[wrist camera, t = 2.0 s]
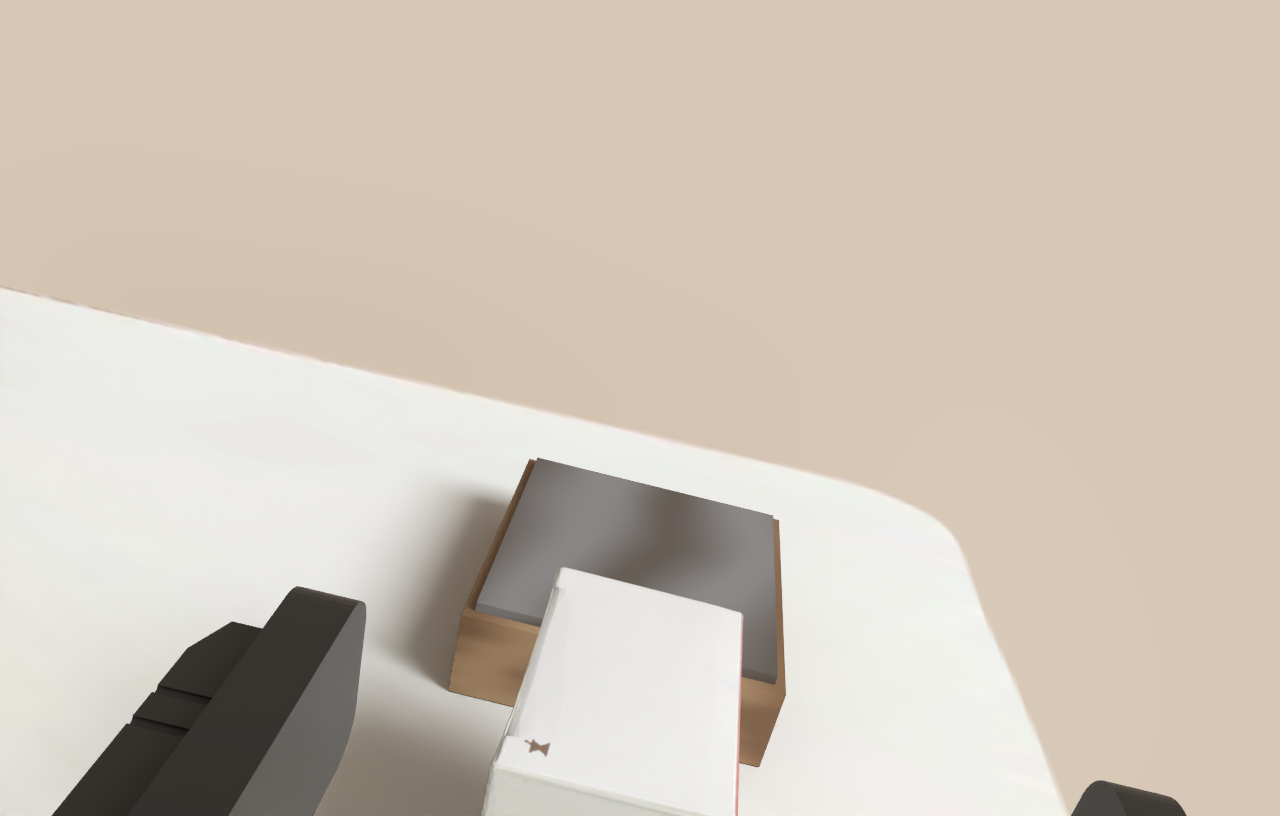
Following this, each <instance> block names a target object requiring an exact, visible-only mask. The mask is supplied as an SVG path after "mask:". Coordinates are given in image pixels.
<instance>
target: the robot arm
mask: <svg viewBox="0 0 1280 816" xmlns="http://www.w3.org/2000/svg"><path fill="white" fill-rule="evenodd" d="M365 622H366V605H365V603H364V602H362V601H358V600H354V599H350V598H345V597H341V596H337V595H333V594H329V593H325V592H320V591H316V590H312V589H308V588H304V587H299V586H297V587H295V588H293V589H292V590H291V591H290V592H289V593H288V594H287V596H286V597H285V598H284V600H283V601H282V603H281V604H280V605H279V607H278V608H277V610H276V611H275V612H274V614H273V615H272V616H271V618H270V619H269V621H268V622H267V623H266V625H265V626H264V628H263V629H261V628H257V627H253V626H249V625H245V624H241V623H236V622H231V623H229V624H227V625H226V626H224V627H222V628H220V629H219V630H217V631H215V632H214V633H212V634H210V635H209V636H207V637H205V638H204V639H202V640H200V641H199V642H197V643H195V644H194V645H192V646H190V647H189V648H187V650H186V651H185V652H184V653H183V654H182V656H181V657H180V658H179V659H178V661H177V662H176V663H175V664H174V666H173V667H172V668H171V669H170V671H169V672H168V673H167V674H166V675H165V677H164V678H163V679H162V680H161V682H160V683H159V684H158V687H157V690H156V692H155V693H154V692H152V693H151V694H150V695H149V696H148V698H147V699H146V700H145V701H144V703H143V704H142V705H141V706H140V707H139V709H138V710H137V711H136V712H135V714H134V715H133V718H132V721H131V723H130V724H126V725H125V726H124V727H123V728H122V730H121V731H120V732H119V733H118V735H117V736H116V737H115V738H114V740H113V741H112V742H111V743H110V744H109V746H108V747H107V748H106V749H105V751H104V752H103V753H102V754H101V756H100V757H99V758H98V759H97V760H96V762H95V763H94V764H93V765H92V767H91V768H90V769H89V770H88V772H87V773H86V774H85V775H84V777H83V778H82V779H81V780H80V781H79V783H78V784H77V785H76V786H75V788H74V789H73V790H72V791H71V793H70V794H69V795H68V796H67V797H66V799H65V800H64V801H63V802H62V804H61V805H60V806H59V807H58V809H57V810H56V811H55V812H54V813H53V815H52V816H313V814H314V812H315V810H316V808H317V806H318V804H319V802H320V800H321V798H322V797H323V795H324V793H325V791H326V789H327V787H328V785H329V783H330V781H331V779H332V777H333V775H334V773H335V771H336V769H337V767H338V765H339V762H340V760H341V758H342V755H343V753H344V750H345V747H346V744H347V741H348V738H349V735H350V731H351V728H352V724H353V719H354V715H355V709H356V701H357V692H358V683H359V674H360V666H361V657H362V648H363V639H364V630H365ZM1071 816H1186V814H1185V812H1184V810H1183V809H1182V807H1181V806H1180V805H1179V804H1178V802H1177V801H1176V800H1174V799H1173V798H1171V797H1168V796H1165V795H1161V794H1157V793H1152V792H1148V791H1144V790H1140V789H1136V788H1132V787H1127V786H1123V785H1119V784H1115V783H1111V782H1106V781H1096V782H1094V783H1092V784H1091V785H1090V786H1089V787H1088V788H1087V789H1086V790H1085V792H1084V793H1083V795H1082V797H1081V799H1080V801H1079V802H1078V804H1077V806H1076V808H1075V810H1074V811H1073V813H1072V815H1071Z"/></svg>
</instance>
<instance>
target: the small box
mask: <svg viewBox="0 0 1280 816" xmlns="http://www.w3.org/2000/svg"><path fill="white" fill-rule="evenodd" d="M743 618H744V615H743V614H741V613H740V612H737V611H733V610H730V609H726V608H723V607H719V606H716V605H712V604H708V603H704V602H700V601H697V600H693V599H689V598H684V597H680V596H677V595H673V594H669V593H665V592H661V591H657V590H653V589H649V588H646V587H642V586H638V585H634V584H630V583H626V582H622V581H618V580H614V579H610V578H606V577H602V576H598V575H594V574H590V573H586V572H582V571H578V570H574V569H570V568H566V567H561V568H559V569H557V571H556V573H555V578H554V582H553V586H552V590H551V594H550V598H549V601H548V605H547V608H546V611H545V615H544V618H543V621H542V624H541V627H540V630H539V633H538V636H537V639H536V642H535V645H534V648H533V651H532V654H531V657H530V661H529V664H528V666H527V669H526V672H525V675H524V678H523V681H522V684H521V687H520V690H519V693H518V696H517V699H516V702H515V705H514V708H513V711H512V713H511V716H510V718H509V721H508V723H507V726H506V728H505V731H504V733H503V736H502V738H501V741H500V743H499V746H498V748H497V751H496V753H495V756H494V758H493V760H492V762H491V766H490V771H489V777H488V782H487V788H486V793H485V798H484V803H483V808H482V813H481V816H738V785H739V745H740V708H741V673H742V638H743Z"/></svg>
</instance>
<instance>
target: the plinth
mask: <svg viewBox="0 0 1280 816" xmlns="http://www.w3.org/2000/svg"><path fill="white" fill-rule="evenodd" d="M561 567H566V568H570V569H574V570H578V571H582V572H586V573H590V574H594V575H598V576H602V577H606V578H610V579H614V580H618V581H622V582H626V583H630V584H634V585H638V586H642V587H646V588H649V589H653V590H657V591H661V592H665V593H669V594H673V595H677V596H680V597H684V598H689V599H693V600H697V601H700V602H704V603H708V604H712V605H716V606H719V607H723V608H726V609H730V610H733V611H737V612H740V613H741V614H743V615H744V618H743V638H742V673H741V708H740V745H739V762H741V763H745V764H749V765H753V766H757V767H759V766H760V763H761V761H762V758H763V755H764V753H765V750H766V747H767V744H768V742H769V739H770V736H771V734H772V731H773V728H774V726H775V723H776V720H777V717H778V715H779V712H780V709H781V707H782V704H783V701H784V698H785V696H786V688H785V662H784V637H783V612H782V586H781V561H780V536H779V520H776V519H773V515H769V514H764V513H760V512H756V511H752V510H748V509H744V508H740V507H736V506H732V505H728V504H724V503H720V502H716V501H712V500H707V499H703V498H699V497H695V496H691V495H687V494H683V493H679V492H675V491H671V490H667V489H663V488H659V487H655V486H650V485H646V484H642V483H638V482H634V481H630V480H626V479H622V478H618V477H614V476H610V475H606V474H602V473H598V472H593V471H589V470H585V469H581V468H577V467H573V466H569V465H565V464H561V463H557V462H553V461H549V460H545V459H541V458H537V460H536V461H535V460H531V459H529V461H528V464H527V466H526V468H525V471H524V473H523V475H522V477H521V480H520V482H519V484H518V487H517V489H516V491H515V494H514V496H513V498H512V500H511V503H510V505H509V507H508V510H507V512H506V514H505V516H504V519H503V521H502V523H501V526H500V528H499V530H498V533H497V535H496V537H495V539H494V542H493V544H492V546H491V549H490V551H489V553H488V555H487V558H486V560H485V562H484V565H483V567H482V569H481V572H480V574H479V576H478V578H477V581H476V583H475V585H474V588H473V590H472V592H471V594H470V597H469V599H468V601H467V604H466V606H465V608H464V610H463V613H462V615H461V620H460V626H459V632H458V638H457V643H456V649H455V655H454V661H453V666H452V672H451V678H450V684H449V689H448V691H452V692H456V693H460V694H464V695H468V696H472V697H476V698H480V699H484V700H488V701H493V702H497V703H501V704H505V705H509V706H513V707H514V705H515V702H516V699H517V696H518V693H519V690H520V687H521V684H522V681H523V678H524V675H525V672H526V669H527V666H528V664H529V661H530V657H531V654H532V651H533V648H534V645H535V642H536V639H537V636H538V633H539V630H540V627H541V624H542V621H543V618H544V615H545V611H546V608H547V605H548V601H549V598H550V594H551V590H552V586H553V582H554V578H555V573H556V571H557V569H559V568H561Z"/></svg>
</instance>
